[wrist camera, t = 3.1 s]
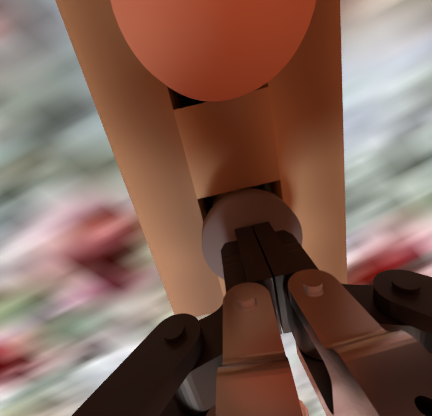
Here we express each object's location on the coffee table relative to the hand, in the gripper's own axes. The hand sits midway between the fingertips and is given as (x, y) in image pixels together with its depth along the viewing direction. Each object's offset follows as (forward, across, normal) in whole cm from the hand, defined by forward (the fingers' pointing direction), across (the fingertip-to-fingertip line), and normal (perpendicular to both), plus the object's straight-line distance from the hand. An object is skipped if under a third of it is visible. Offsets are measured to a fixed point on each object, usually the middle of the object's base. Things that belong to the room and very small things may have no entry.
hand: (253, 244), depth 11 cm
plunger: (+7, 0, 0) cm, 7 cm away
